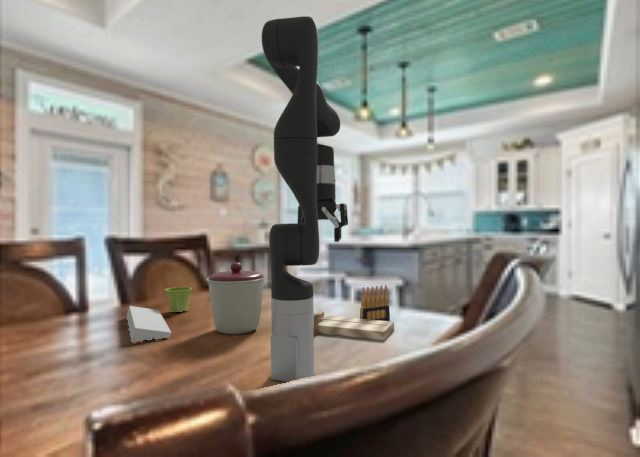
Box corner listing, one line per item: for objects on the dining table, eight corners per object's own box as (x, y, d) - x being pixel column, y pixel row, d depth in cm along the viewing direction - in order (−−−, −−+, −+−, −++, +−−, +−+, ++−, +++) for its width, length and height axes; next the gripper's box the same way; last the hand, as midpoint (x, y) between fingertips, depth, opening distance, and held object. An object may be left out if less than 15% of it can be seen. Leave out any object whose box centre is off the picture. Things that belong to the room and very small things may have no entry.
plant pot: (164, 310, 157) (164, 287, 157) (190, 307, 161) (190, 285, 161) (166, 315, 148) (166, 291, 148) (193, 312, 152) (193, 289, 152)
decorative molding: (155, 323, 149) (125, 319, 145) (158, 310, 150) (129, 305, 145) (167, 349, 119) (130, 345, 115) (171, 332, 120) (135, 327, 115)
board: (394, 329, 126) (394, 321, 126) (384, 340, 115) (384, 331, 115) (311, 321, 137) (311, 314, 137) (294, 330, 126) (294, 322, 126)
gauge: (311, 338, 118) (311, 315, 118) (298, 336, 120) (297, 314, 119) (328, 327, 129) (328, 306, 129) (315, 326, 131) (315, 305, 131)
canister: (235, 320, 140) (234, 258, 139) (278, 327, 130) (277, 261, 130) (194, 333, 124) (192, 264, 124) (239, 342, 115) (238, 267, 114)
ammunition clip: (362, 324, 132) (362, 287, 132) (359, 323, 134) (359, 286, 134) (390, 320, 137) (389, 284, 137) (386, 319, 139) (386, 284, 138)
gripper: (292, 183, 113) (293, 242, 113) (341, 180, 108) (342, 242, 107) (304, 186, 120) (305, 241, 120) (350, 183, 114) (351, 241, 114)
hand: (322, 241), depth 114 cm, fingers open, 8 cm apart
